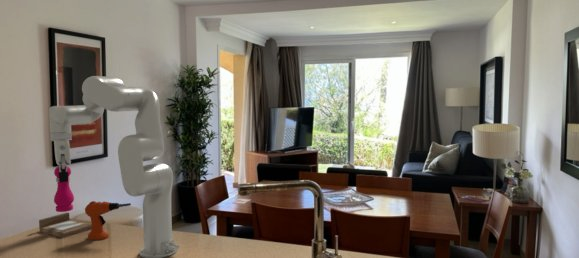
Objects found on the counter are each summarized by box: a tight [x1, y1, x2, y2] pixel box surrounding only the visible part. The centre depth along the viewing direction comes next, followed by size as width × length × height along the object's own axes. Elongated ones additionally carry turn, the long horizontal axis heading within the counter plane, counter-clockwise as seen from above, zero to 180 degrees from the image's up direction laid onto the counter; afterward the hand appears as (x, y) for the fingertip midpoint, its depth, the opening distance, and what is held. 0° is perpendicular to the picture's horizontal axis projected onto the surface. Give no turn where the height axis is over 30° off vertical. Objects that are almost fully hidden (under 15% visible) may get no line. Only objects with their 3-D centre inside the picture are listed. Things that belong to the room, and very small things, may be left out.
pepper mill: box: [53, 163, 75, 213], centre depth 164 cm, size 7×7×20 cm
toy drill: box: [84, 200, 132, 241], centre depth 156 cm, size 5×19×15 cm, turn 87°
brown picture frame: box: [38, 212, 92, 239], centre depth 166 cm, size 16×12×5 cm
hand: (63, 179), depth 164 cm, fingers closed on pepper mill, 5 cm apart
